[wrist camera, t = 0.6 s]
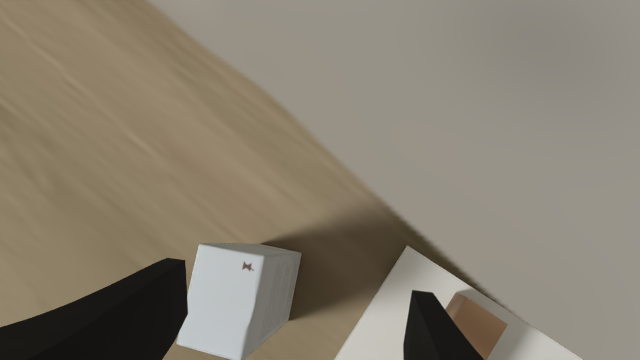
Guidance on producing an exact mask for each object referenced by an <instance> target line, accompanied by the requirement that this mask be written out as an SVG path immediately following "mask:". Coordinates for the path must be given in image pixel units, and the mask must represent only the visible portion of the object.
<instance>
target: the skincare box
mask: <svg viewBox="0 0 640 360" xmlns="http://www.w3.org/2000/svg"><path fill="white" fill-rule="evenodd" d="M301 255H302V253H301V252H296V251H291V250H287V249H282V248H277V247H272V246H267V245H261V244H243V243H201V244H199V247H198V252H197V256H196V260H195V264H194V269H193V273H192V277H191V282H190V286H189V291H188V295H187V302H188V315H187V317H186V319H185V321H184V323H183V325H182V327H181V329H180V331H179V335H178V339H177V344H178V345H181V346H184V347H188V348H191V349H195V350H199V351H202V352H206V353H209V354H213V355H216V356H220V357H224V358H227V359H231V360H244V359H245V358H246V357H247V356H249V355H250V354H251V353H252V352H253V351H254V350H255V349H257V348H258V347H259V346H260V345H261V344H262V343H263V342H265V341H266V340H267V339H268V338H269V337H270V336H272V335H273V334H274V333H275V332H276V331H277V330H278V329H280V328H281V327H282V326H283V325H284V324H286V323H287V322H288V319H289V314H290V310H291V305H292V300H293V295H294V290H295V285H296V280H297V275H298V270H299V265H300V259H301Z"/></svg>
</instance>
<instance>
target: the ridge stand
mask: <svg viewBox="0 0 640 360" xmlns="http://www.w3.org/2000/svg"><path fill="white" fill-rule="evenodd" d="M412 290H418V291H425V292H433V293H434V295H435V296H436V297H437V299H438V300H439V302H440V303H441V305H442V306H443V307H444V309H446V307H447V305H448V304H449V302H450V301H451V299H452V297H453V296H454V294H455V293H456V292H457V293H459V294H461V295H463V296H465V297H467V298H469V299H470V300H472V301H473V302H475V303H476V304H478V305H479V306H481V307H482V308H484V309H486V310H487V311H489V312H490V313H492V314H493V315H495V316H496V317H498V318H499V319H501V320H502V321H504V322H505V323H507V324H508V325H507V327H506V329H505V330H504V332H503V334H502V335H501V337H500V338H499V340H498V342H497V343H496V345H495V347H494V348H493V350H492V352H491V353H490V355H489V357H488V358H487V360H583V359H581V358H580V357H578V356H577V355H575V354H574V353H572V352H570V351H569V350H568V349H566V348H564V347H563V346H561V345H560V344H558V343H557V342H555V341H554V340H552V339H551V338H549V337H548V336H546V335H545V334H543V333H541V332H540V331H538V330H537V329H535V328H534V327H532V326H531V325H529V324H528V323H526V322H525V321H523V320H521V319H520V318H518V317H517V316H515V315H514V314H512V313H511V312H509V311H508V310H506V309H505V308H503V307H501V306H500V305H498V304H497V303H495V302H494V301H492V300H491V299H489V298H488V297H486V296H485V295H483V294H481V293H480V292H478V291H477V290H475V289H474V288H472V287H471V286H469V285H468V284H466V283H464V282H463V281H461V280H460V279H458V278H457V277H455V276H454V275H452V274H451V273H449V272H448V271H446V270H444V269H443V268H441V267H440V266H438V265H437V264H435V263H434V262H432V261H431V260H429V259H428V258H426V257H424V256H423V255H421V254H420V253H418V252H417V251H415V250H414V249H412V248H411V247H409V246H406V247H405V249H404V251H403V252H402V254H401V255H400V257H399V258H398V260H397V262H396V263H395V265H394V266H393V268H392V269H391V271H390V273H389V274H388V276H387V277H386V279H385V280H384V282H383V284H382V285H381V287H380V288H379V290H378V291H377V293H376V295H375V296H374V298H373V299H372V301H371V302H370V304H369V306H368V307H367V309H366V310H365V312H364V313H363V315H362V317H361V318H360V320H359V321H358V323H357V324H356V326H355V328H354V329H353V331H352V332H351V334H350V335H349V337H348V339H347V340H346V342H345V343H344V345H343V346H342V348H341V350H340V351H339V353H338V354H337V356H336V357H335V359H334V360H404V358H403V342H404V336H405V330H406V324H407V318H408V312H409V306H410V300H411V294H412Z"/></svg>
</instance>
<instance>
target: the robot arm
mask: <svg viewBox="0 0 640 360" xmlns="http://www.w3.org/2000/svg"><path fill="white" fill-rule="evenodd" d="M187 315H188V302H187V285H186V268H185V260H179V259H171V258H166V259H163V260H161V261H159V262H156V263H154V264H152V265H150V266H148V267H146V268H144V269H142V270H140V271H138V272H136V273H134V274H132V275H130V276H128V277H126V278H124V279H122V280H120V281H118V282H115V283H113V284H111V285H109V286H107V287H105V288H103V289H101V290H98V291H96V292H94V293H92V294H90V295H87V296H85V297H83V298H81V299H78V300H76V301H74V302H72V303H69V304H67V305H64V306H62V307H59V308H57V309H54V310H51V311H49V312H46V313H43V314H41V315H38V316H35V317H32V318H29V319H26V320H23V321H20V322H16V323H13V324H10V325H7V326H3V327H0V360H162V359H163V357H164V356H165V354H166V353H167V351H168V350H169V348H170V347H171V345H172V344H173V342H174V341H175V339H176V337H177V335H178V333H179V331H180V329H181V327H182V325H183V323H184V321H185V319H186V317H187ZM403 358H404V360H484V359H483V357H482V356H481V355H480V354H479V353H478V352H477V351H476V349H475V348H474V347H473V346H472V345H471V343H470V342H469V341H468V340H467V338H466V337H465V336H464V334H463V333H462V332H461V331H460V329H459V328H458V327H457V325H456V324H455V323H454V321H453V320H452V319H451V317H450V316H449V314H448V313H447V312H446V310H445V309H444V307H443V306H442V305H441V303H440V302H439V300H438V299H437V297H436V296H435V295H434V293H433V292H425V291H418V290H412V294H411V300H410V306H409V312H408V318H407V324H406V330H405V336H404V342H403Z"/></svg>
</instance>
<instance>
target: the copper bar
mask: <svg viewBox="0 0 640 360" xmlns="http://www.w3.org/2000/svg"><path fill="white" fill-rule="evenodd" d="M445 310H446V312H447V313H448V314H449V316H450V317H451V319H452V320H453V321H454V323H455V324H456V325H457V327H458V328H459V329H460V331H461V332H462V333H463V334H464V336H465V337H466V338H467V340H468V341H469V342H470V343H471V345H472V346H473V347H474V348H475V349H476V351H477V352H478V353H479V354H480V355H481V356H482V357H483V359H484V360H487V358H488V357H489V355H490V353H491V352H492V350H493V348H494V347H495V345H496V343H497V342H498V340H499V338H500V337H501V335H502V334H503V332H504V330H505V329H506V327H507V325H508V324H507V323H505V322H504V321H502V320H501V319H499V318H498V317H496V316H495V315H493V314H492V313H490V312H489V311H487V310H486V309H484V308H482V307H481V306H479V305H478V304H476V303H475V302H473V301H472V300H470V299H469V298H467V297H465V296H463V295H461V294H459V293H457V292H456V293H455V294H454V296H453V297H452V299H451V301H450V302H449V304H448V305H447V307H446V309H445Z"/></svg>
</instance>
